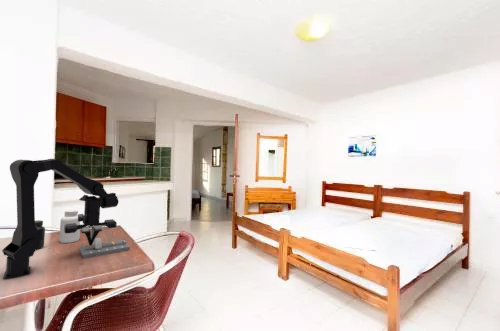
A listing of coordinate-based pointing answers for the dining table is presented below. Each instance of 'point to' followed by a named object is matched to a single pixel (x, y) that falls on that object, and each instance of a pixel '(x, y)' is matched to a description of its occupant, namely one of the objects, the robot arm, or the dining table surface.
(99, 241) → the fader
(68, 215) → the pill bottle
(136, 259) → the dining table surface
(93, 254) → the console
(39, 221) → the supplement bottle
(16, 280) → the dining table surface
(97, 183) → the robot arm
